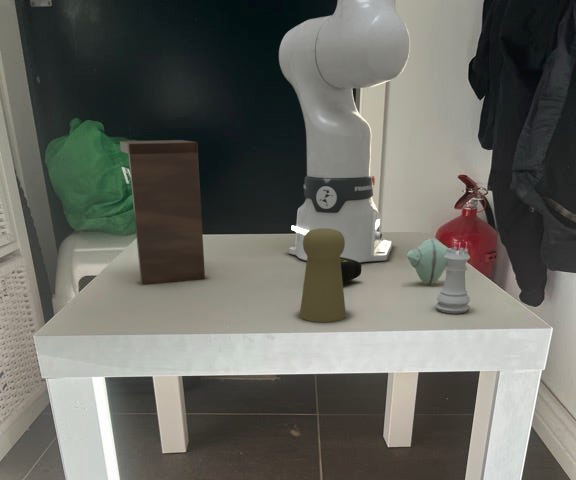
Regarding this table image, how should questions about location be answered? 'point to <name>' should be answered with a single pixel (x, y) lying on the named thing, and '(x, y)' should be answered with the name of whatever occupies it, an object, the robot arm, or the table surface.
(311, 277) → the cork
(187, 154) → the shelf stand
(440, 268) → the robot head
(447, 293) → the rook chess piece
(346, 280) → the tape measure
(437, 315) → the table surface
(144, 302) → the table surface
